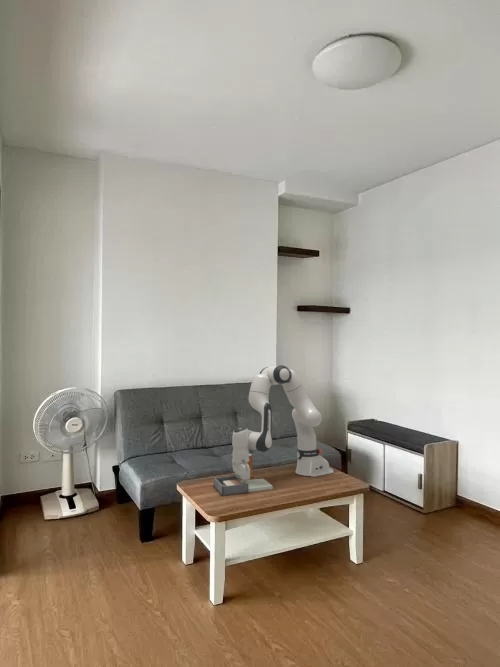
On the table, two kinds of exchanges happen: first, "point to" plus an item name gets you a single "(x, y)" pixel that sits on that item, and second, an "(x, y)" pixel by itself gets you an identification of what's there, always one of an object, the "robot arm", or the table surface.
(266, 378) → the robot arm
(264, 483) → the sage board
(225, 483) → the cream tile
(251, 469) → the small box
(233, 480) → the terracotta tile
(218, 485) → the tray
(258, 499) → the table surface
